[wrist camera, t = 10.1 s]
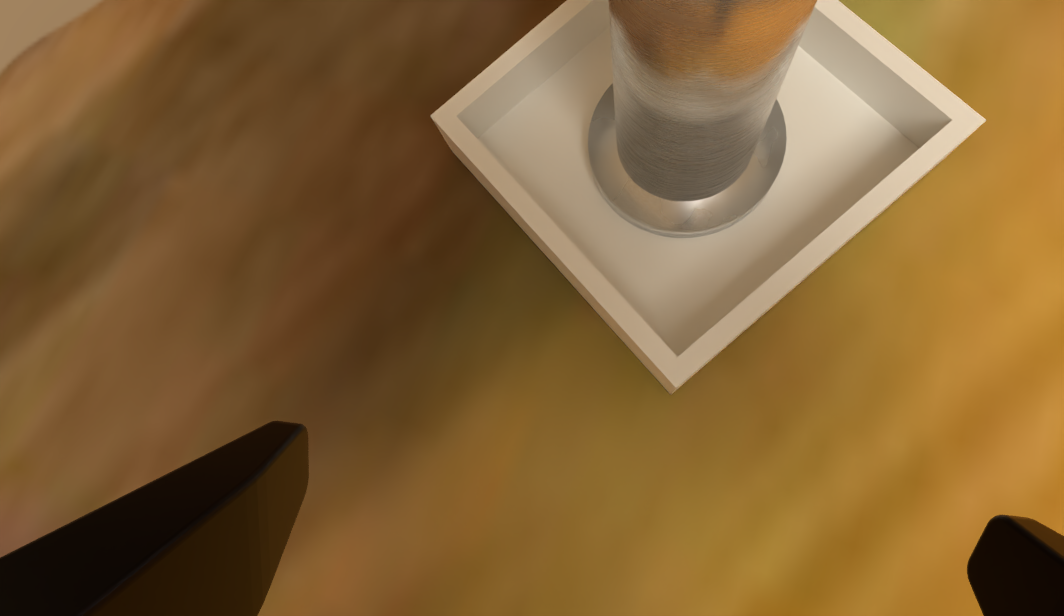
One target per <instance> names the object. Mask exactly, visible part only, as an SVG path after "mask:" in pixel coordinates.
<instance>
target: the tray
mask: <svg viewBox="0 0 1064 616" xmlns="http://www.w3.org/2000/svg"><path fill="white" fill-rule="evenodd" d="M612 83H613V73H612V55H611V38H610V20H609V2H608V0H567V1H565V2H564V3H563V4H562V5H561V6H559V7H558V8H557V9H556V10H555V11H554V12H552V13H551V14H550V15H549V16H548V17H546V18H545V19H544V20H543V21H542V22H541V23H539V24H538V25H537V26H536V27H535V28H533V29H532V30H531V31H530V32H529V33H527V34H526V35H525V36H524V37H523V38H522V39H520V40H519V41H518V42H517V43H516V44H514V45H513V46H512V47H511V48H510V49H509V50H507V51H506V52H505V53H504V54H503V55H501V56H500V57H499V58H498V59H497V60H496V61H494V62H493V63H492V64H491V65H490V66H488V67H487V68H486V69H485V70H484V71H483V72H481V73H480V74H479V75H478V76H477V77H475V78H474V79H473V80H472V81H471V82H470V83H468V84H467V85H466V86H465V87H464V88H462V89H461V90H460V91H459V92H458V93H457V94H455V95H454V96H453V97H452V98H451V99H449V100H448V101H447V102H446V103H445V104H444V105H442V106H441V107H440V108H439V109H438V110H436V111H435V112H434V113H433V114H432V115H430V116H431V118H432V120H433V121H434V123H435V125H436V126H437V128H438V129H439V131H440V133H441V134H442V136H443V138H444V139H445V141H446V142H447V144H448V146H449V147H450V149H451V151H452V152H453V153H454V154H455V155H456V156H457V157H458V159H459V160H460V161H461V162H462V163H463V164H464V165H465V166H466V167H467V169H468V170H469V171H470V172H471V173H472V174H473V175H474V176H475V177H476V179H477V180H478V181H479V182H480V183H481V184H482V185H483V186H484V187H485V189H486V190H487V191H488V192H489V193H490V194H491V195H492V196H493V197H494V199H495V200H496V201H497V202H498V203H499V204H500V205H501V206H502V208H503V209H504V210H505V211H506V212H507V213H508V214H509V215H510V216H511V218H512V219H513V220H514V221H515V222H516V223H517V224H518V225H519V226H520V228H521V229H522V230H523V231H524V232H525V233H526V234H527V235H528V236H529V238H530V239H531V240H532V241H533V242H534V243H535V244H536V245H537V247H538V248H539V249H540V250H541V251H542V252H543V253H544V254H545V255H546V257H547V258H548V259H549V260H550V261H551V262H552V263H553V264H554V265H555V267H556V268H557V269H558V270H559V271H560V272H561V273H562V274H563V275H564V277H565V278H566V279H567V280H568V281H569V282H570V283H571V284H572V286H573V287H574V288H575V289H576V290H577V291H578V292H579V293H580V294H581V296H582V297H583V298H584V299H585V300H586V301H587V302H588V303H589V304H590V306H591V307H592V308H593V309H594V310H595V311H596V312H597V313H598V314H599V316H600V317H601V318H602V319H603V320H604V321H605V322H606V323H607V324H608V326H609V327H610V328H611V329H612V330H613V331H614V332H615V333H616V335H617V336H618V337H619V338H620V339H621V340H622V341H623V342H624V343H625V345H626V346H627V347H628V348H629V349H630V350H631V351H632V352H633V353H634V355H635V356H636V357H637V358H638V359H639V360H640V361H641V362H642V363H643V365H644V366H645V367H646V368H647V369H648V370H649V371H650V372H651V374H652V375H653V376H654V377H655V378H656V379H657V380H658V381H659V382H660V384H661V385H662V386H663V387H664V388H665V389H666V390H667V391H668V392H669V394H670V395H671V394H672V393H674V392H675V391H676V390H677V389H678V388H679V387H681V386H682V385H683V384H684V383H685V382H686V381H688V380H689V379H690V378H691V377H692V376H693V375H694V374H696V373H697V372H698V371H699V370H700V369H701V368H703V367H704V366H705V365H706V364H707V363H708V362H709V361H711V360H712V359H713V358H714V357H715V356H716V355H718V354H719V353H720V352H721V351H722V350H723V349H725V348H726V347H727V346H728V345H729V344H730V343H731V342H733V341H734V340H735V339H736V338H737V337H738V336H740V335H741V334H742V333H743V332H744V331H745V330H747V329H748V328H749V327H750V326H751V325H752V324H753V323H755V322H756V321H757V320H758V319H759V318H760V317H762V316H763V315H764V314H765V313H766V312H767V311H769V310H770V309H771V308H772V307H773V306H774V305H775V304H777V303H778V302H779V301H780V300H781V299H782V298H784V297H785V296H786V295H787V294H788V293H789V292H790V291H792V290H793V289H794V288H795V287H796V286H797V285H799V284H800V283H801V282H802V281H803V280H804V279H806V278H807V277H808V276H809V275H810V274H811V273H812V272H814V271H815V270H816V269H817V268H818V267H819V266H821V265H822V264H823V263H824V262H825V261H826V260H828V259H829V258H830V257H831V256H832V255H833V254H834V253H836V252H837V251H838V250H839V249H840V248H841V247H843V246H844V245H845V244H846V243H847V242H848V241H850V240H851V239H852V238H853V237H854V236H855V235H856V234H858V233H859V232H860V231H861V230H862V229H863V228H865V227H866V226H867V225H868V224H869V223H870V222H872V221H873V220H874V219H875V218H876V217H877V216H878V215H880V214H881V213H882V212H883V211H884V210H885V209H887V208H888V207H889V206H890V205H891V204H892V203H893V202H895V201H896V200H897V199H898V198H899V197H900V196H902V195H903V194H904V193H905V192H906V191H907V190H909V189H910V188H911V187H912V186H913V185H914V184H915V183H917V182H918V181H919V180H920V179H921V178H922V177H924V176H925V175H926V174H927V173H928V172H929V171H931V170H932V169H933V168H934V167H935V166H936V165H937V164H939V163H940V162H941V161H942V160H943V159H944V158H945V157H947V156H948V155H949V154H950V153H951V152H952V151H953V150H954V149H955V148H956V147H958V146H959V145H960V144H961V143H962V142H963V141H964V140H965V139H966V138H967V137H969V136H970V135H971V134H972V133H973V132H974V131H975V130H976V129H977V128H979V127H980V126H981V125H982V124H983V123H984V122H985V121H986V119H984V118H983V117H982V116H981V115H979V114H978V113H977V112H976V111H974V110H973V109H972V108H971V107H969V106H968V105H967V104H966V103H965V102H963V101H962V100H961V99H960V98H958V97H957V96H956V95H955V94H953V93H952V92H951V91H950V90H948V89H947V88H946V87H945V86H943V85H942V84H941V83H940V82H939V81H937V80H936V79H935V78H934V77H932V76H931V75H930V74H929V73H927V72H926V71H925V70H924V69H922V68H921V67H920V66H919V65H917V64H916V63H915V62H914V61H913V60H911V59H910V58H909V57H908V56H906V55H905V54H904V53H903V52H901V51H900V50H899V49H898V48H896V47H895V46H894V45H893V44H891V43H890V42H889V41H888V40H887V39H885V38H884V37H883V36H882V35H880V34H879V33H878V32H877V31H875V30H874V29H873V28H872V27H870V26H869V25H868V24H867V23H865V22H864V21H863V20H862V19H861V18H859V17H858V16H857V15H856V14H854V13H853V12H852V11H851V10H849V9H848V8H847V7H846V6H844V5H843V4H842V3H841V2H839V1H838V0H817V2H816V5H815V7H814V9H813V12H812V14H811V16H810V19H809V21H808V24H807V26H806V28H805V31H804V33H803V36H802V38H801V40H800V43H799V45H798V48H797V50H796V52H795V55H794V57H793V60H792V62H791V64H790V67H789V69H788V72H787V74H786V76H785V79H784V81H783V84H782V86H781V88H780V91H779V93H778V96H777V98H776V99H777V100H778V102H779V104H780V107H781V110H782V112H783V115H784V120H785V125H786V136H787V140H786V151H785V155H784V159H783V163H782V166H781V168H780V171H779V173H778V175H777V177H776V179H775V181H774V183H773V185H772V186H771V188H770V190H769V192H768V193H767V195H766V196H765V198H764V199H763V200H762V201H761V203H760V204H759V205H758V206H757V207H756V208H755V209H754V210H753V211H752V212H751V213H750V214H749V215H747V216H746V217H745V218H743V219H742V220H741V221H739V222H738V223H736V224H734V225H732V226H731V227H729V228H726V229H724V230H722V231H719V232H717V233H713V234H710V235H706V236H701V237H694V238H672V237H664V236H660V235H655V234H652V233H649V232H646V231H644V230H641V229H639V228H637V227H635V226H633V225H632V224H630V223H629V222H627V221H626V220H624V219H623V218H621V217H620V216H619V215H618V214H617V213H616V212H615V211H614V210H612V208H611V207H610V206H609V205H608V204H607V202H606V201H605V200H604V198H603V197H602V195H601V194H600V192H599V190H598V188H597V186H596V183H595V181H594V178H593V174H592V171H591V166H590V159H589V152H588V133H589V127H590V122H591V119H592V116H593V113H594V111H595V108H596V106H597V104H598V102H599V100H600V99H601V97H602V96H603V94H604V93H605V91H606V90H607V89H608V88H609V86H610V85H611V84H612Z"/></svg>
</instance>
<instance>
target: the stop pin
mask: <svg viewBox="0 0 1064 616" xmlns="http://www.w3.org/2000/svg"><path fill="white" fill-rule="evenodd" d="M608 2H609V20H610V38H611V55H612V73H613V83H612V84H611V85H610V86H609V88H608V89H607V90H606V91H605V93H604V94H603V96H602V97H601V99H600V100H599V102H598V104H597V106H596V108H595V111H594V113H593V116H592V119H591V122H590V127H589V133H588V152H589V159H590V166H591V171H592V174H593V178H594V181H595V183H596V186H597V188H598V190H599V192H600V194H601V195H602V197H603V198H604V200H605V201H606V202H607V204H608V205H609V206H610V207H611V208H612V210H614V211H615V212H616V213H617V214H618V215H619V216H620V217H621V218H623V219H624V220H626V221H627V222H629V223H630V224H632V225H633V226H635V227H637V228H639V229H641V230H644V231H646V232H649V233H652V234H655V235H660V236H664V237H672V238H694V237H701V236H706V235H710V234H713V233H717V232H719V231H722V230H724V229H726V228H729V227H731V226H732V225H734V224H736V223H738V222H739V221H741V220H742V219H743V218H745V217H746V216H747V215H749V214H750V213H751V212H752V211H753V210H754V209H755V208H756V207H757V206H758V205H759V204H760V203H761V201H762V200H763V199H764V198H765V196H766V195H767V193H768V192H769V190H770V188H771V186H772V185H773V183H774V181H775V179H776V177H777V175H778V173H779V171H780V168H781V166H782V163H783V159H784V155H785V151H786V140H787V136H786V125H785V120H784V115H783V112H782V110H781V107H780V104H779V102H778V100H777V99H776V98H777V96H778V93H779V91H780V88H781V86H782V84H783V81H784V79H785V76H786V74H787V72H788V69H789V67H790V64H791V62H792V60H793V57H794V55H795V52H796V50H797V48H798V45H799V43H800V40H801V38H802V36H803V33H804V31H805V28H806V26H807V24H808V21H809V19H810V16H811V14H812V12H813V9H814V7H815V5H816V2H817V0H608Z"/></svg>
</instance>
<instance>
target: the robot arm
mask: <svg viewBox="0 0 1064 616" xmlns="http://www.w3.org/2000/svg"><path fill="white" fill-rule="evenodd" d="M308 478H309V465H308V432H307V429H306V427H305V426H304V425H303V424H298V423H290V422H283V421H272V422H270V423H268V424H266V425H264V426H262V427H260V428H258V429H256V430H254V431H252V432H250V433H248V434H246V435H244V436H242V437H240V438H238V439H236V440H234V441H232V442H230V443H228V444H226V445H224V446H222V447H220V448H218V449H216V450H214V451H212V452H210V453H208V454H206V455H204V456H202V457H200V458H198V459H196V460H194V461H192V462H190V463H188V464H186V465H184V466H182V467H180V468H178V469H176V470H174V471H172V472H170V473H168V474H166V475H164V476H162V477H160V478H158V479H156V480H154V481H152V482H150V483H148V484H146V485H144V486H142V487H140V488H138V489H136V490H134V491H132V492H130V493H128V494H126V495H124V496H122V497H120V498H118V499H116V500H114V501H112V502H110V503H108V504H106V505H104V506H102V507H100V508H98V509H96V510H94V511H92V512H90V513H88V514H86V515H84V516H82V517H80V518H78V519H76V520H74V521H73V522H71V523H69V524H67V525H65V526H63V527H61V528H59V529H57V530H55V531H53V532H51V533H49V534H47V535H45V536H43V537H41V538H39V539H37V540H35V541H33V542H31V543H29V544H27V545H25V546H23V547H21V548H19V549H17V550H15V551H13V552H11V553H9V554H7V555H5V556H3V557H1V558H0V616H257V615H258V613H259V611H260V609H261V607H262V605H263V603H264V600H265V598H266V595H267V593H268V590H269V588H270V586H271V583H272V580H273V578H274V575H275V573H276V570H277V567H278V565H279V562H280V559H281V557H282V554H283V552H284V549H285V546H286V544H287V541H288V539H289V536H290V533H291V531H292V528H293V525H294V523H295V520H296V518H297V515H298V512H299V510H300V507H301V505H302V502H303V499H304V497H305V494H306V490H307V485H308ZM967 574H968V579H969V582H970V585H971V587H972V589H973V592H974V594H975V596H976V599H977V601H978V603H979V606H980V608H981V610H982V613H983V615H984V616H1064V536H1063V535H1061V534H1059V533H1057V532H1055V531H1054V530H1052V529H1050V528H1048V527H1046V526H1045V525H1043V524H1041V523H1039V522H1037V521H1035V520H1033V519H1030V518H1025V517H1017V516H1009V515H997V516H995V517H993V518H992V519H991V520H990V521H989V522H988V524H987V526H986V527H985V529H984V531H983V533H982V535H981V537H980V539H979V541H978V543H977V545H976V547H975V549H974V550H973V552H972V554H971V556H970V558H969V561H968V565H967Z"/></svg>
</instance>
